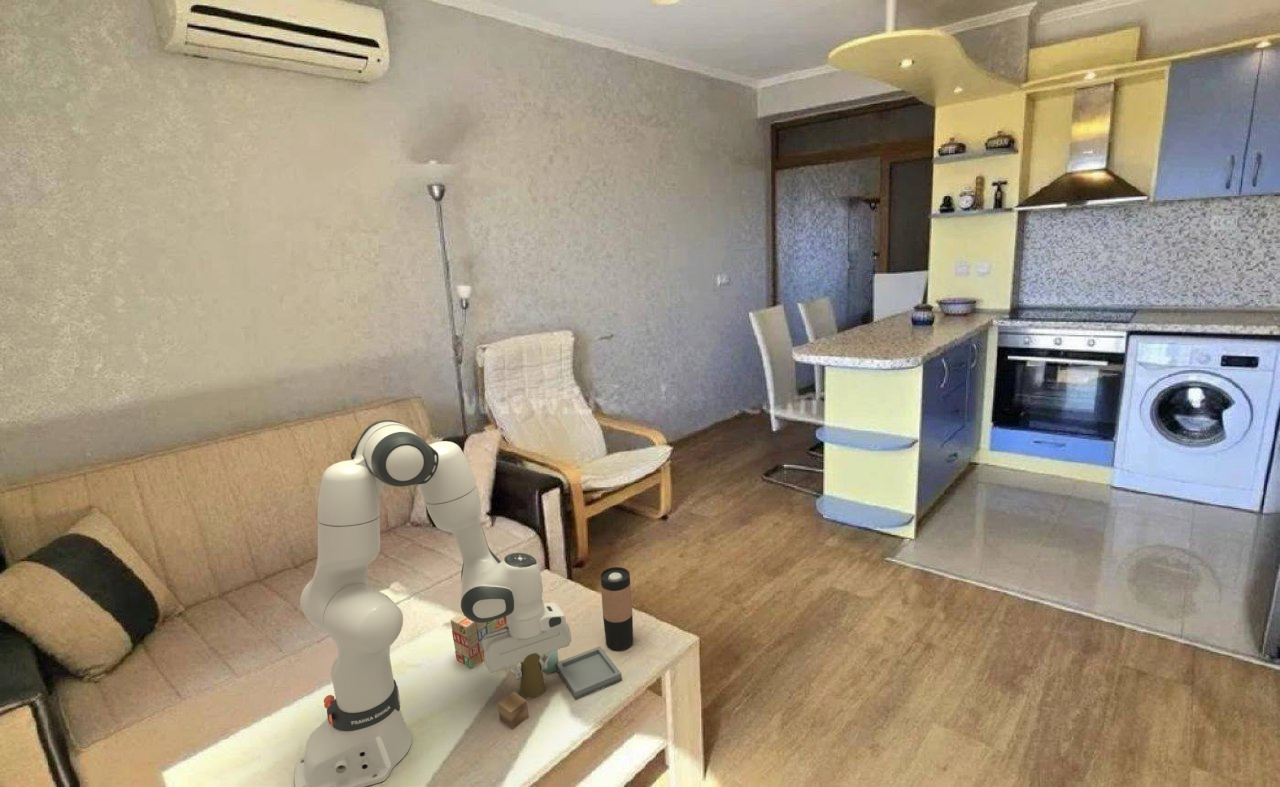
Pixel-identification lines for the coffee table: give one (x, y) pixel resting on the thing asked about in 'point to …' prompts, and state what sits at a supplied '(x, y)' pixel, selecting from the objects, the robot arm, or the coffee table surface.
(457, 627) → the stack of blocks
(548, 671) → the teal cylinder
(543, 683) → the olive brown pawn
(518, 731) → the coffee table surface
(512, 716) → the walnut cube
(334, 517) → the robot arm
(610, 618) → the travel mug
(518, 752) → the coffee table surface
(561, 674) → the tray
